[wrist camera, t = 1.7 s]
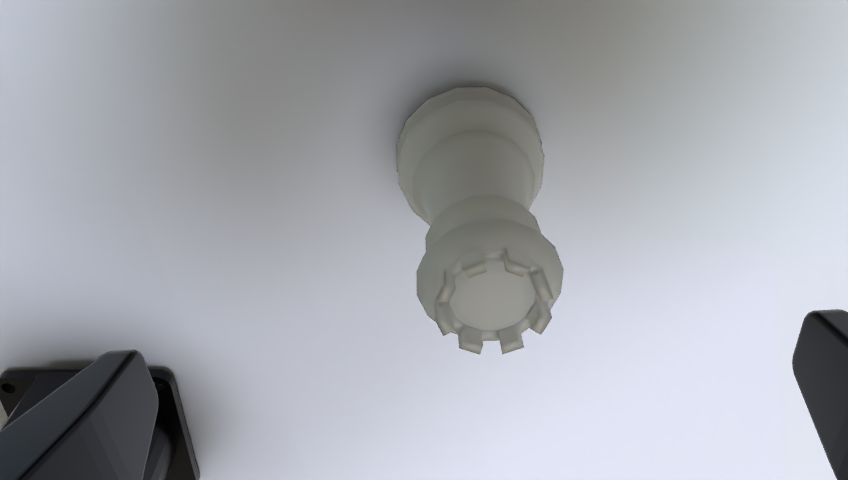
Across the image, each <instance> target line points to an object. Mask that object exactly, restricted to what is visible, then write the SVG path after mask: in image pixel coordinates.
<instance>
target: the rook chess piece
mask: <svg viewBox="0 0 848 480" xmlns="http://www.w3.org/2000/svg"><path fill="white" fill-rule="evenodd" d="M396 154H397V172H398V176H399V185H400V187H401V189H402V191H403V193H404V195H405V197H406V199H407V201H408V203H409V205H410V207H411V209H412V210H413V212H415V213H416V214H417V215H418V216H419V217H420V218H422V219H423V220H424V221H425V222H426V223H428V224H429V225H430V226H431V227H430V229H429V231H428V233H427V235H426V253H425V255H424V257H423V259H422V261H421V263H420V265H419V267H418V269H417V296H418V298H419V300H420V302H421V304H422V306H423V307H424V309H425V311H426V313H427V315H428V316H429V317H430V318H431V319H433V320H434V321H435V322H436V323H437V325H438V327H439V328H440V330H441V332H442V334H443V336H444V335H446V334H448V333H450V332H452V333H455V334H458V338H459V348H461V349H464V350H467V351H470V352H474V353H477V354H480V353H481V349H482V346H483V341H494V340H500V344H501V349H502V354H504V353H507V352H510V351H514V350H517V349H520V348H523V347H524V346H523V341H522V336H521V333H522V332H524V331H525V330H527V329H528V328H529V327H530V329H532V330H533V331H535V332H537V333H539V334H542V332H543V331H544V329H545V328H546V326H547V325H548V323H549V321H550V320H551V318H552V317H551V313H550V309H551V307H552V306H553V304H554V303H555V301H556V300H557V298H558V296H559V295H560V293H561V286H562V278H563V270H564V269H563V267H562V264H561V261H560V259H559V256H558V254H557V251H556V248H555V246H554V245H552V244H551V243H550V242H549V241H548V240H547V239H546V238H545V237H544V236H543V235H542V234H541V231H540V229H539V226H538V224H537V221H536V218H535V217H534V216H533V215H532V214H531V213H530V212H529V211H528V209H529V207H530V206H531V204H532V202H533V200H534V198H535V197H536V195H537V193H538V191H539V189H540V188H541V184H542V176H543V166H544V153H543V150H542V142H541V139H540V136H539V133H538V131H537V128H536V125H535V122H534V119H533V117H532V116H531V115H530V114H529V113H528V112H527V111H526V110H525V109H524V108H523V107H522V106H521V105H520V104H519V103H518V102H517V101H516V100H515V99H514V98H512V97H509V96H507V95H504V94H502V93H499V92H497V91H494V90H492V89H489V88H487V87H462V88H453V89H451V90H449V91H446V92H444V93H441V94H439V95H436V96H434V97H431V98H429V99H427V100H426V101H425V102H424V103H423V104H422V105H421V106H420V107H419V108H418V109H417V110H416V111H415V112H414V113H413V114H412V115H411V116H410V117H409V118H408V119H407V120H406V122H405V125H404V127H403V130H402V132H401V135H400V137H399V139H398V142H397V144H396Z"/></svg>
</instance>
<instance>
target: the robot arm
mask: <svg viewBox="0 0 848 480" xmlns="http://www.w3.org/2000/svg"><path fill="white" fill-rule="evenodd" d="M792 365H793V372H794V375H795V378H796V380H797V383H798V385H799V388H800V390H801V393H802V395H803V398H804V400H805V403H806V405H807V408H808V410H809V413H810V415H811V418H812V420H813V423H814V425H815V428H816V430H817V433H818V435H819V438H820V440H821V443H822V445H823V448H824V450H825V453H826V455H827V458H828V460H829V462H830V465H831V467H832V469H833V472H834V474H835V476H836V478H837V480H848V312H846V311H844V310H839V309H835V310H817V311H812V312H809V313H808V314H807V315H806V317H805V318H804V321H803V324H802V327H801V331H800V334H799V337H798V341H797V344H796V348H795V351H794V354H793V361H792ZM156 382H160V383H161V384H158V383H156ZM11 384H12V385H11ZM162 384H163V385H162ZM0 400H1V403H2V405H3V407H4V409H5V411H6V414H7V416H8V419H7V421H6V422H5V424H4V425H3V427H2V428H1V429H0V480H199V478H200V476H199V472H198V468H197V464H196V461H195V457H194V453H193V449H192V445H191V441H190V438H189V434H188V430H187V426H186V422H185V418H184V414H183V411H182V407H181V403H180V399H179V395H178V391H177V388H176V384H175V380H174V378H173V376H172V375H171V374H170V373H169V372H166V371H164V370H148V367H147V365H146V362H145V359H144V357H143V355H142V354H141V353H140V352H139V351H136V350H121V351H110V352H107V353H105V354H104V355H102V356H101V357H99V358H98V359H97V360H95V361H94V362H93V363H91V364H90V365H89V366H87V367H86V368H85V369H83V370H38V371H5V372H3V373H2V374H1V375H0Z"/></svg>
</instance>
